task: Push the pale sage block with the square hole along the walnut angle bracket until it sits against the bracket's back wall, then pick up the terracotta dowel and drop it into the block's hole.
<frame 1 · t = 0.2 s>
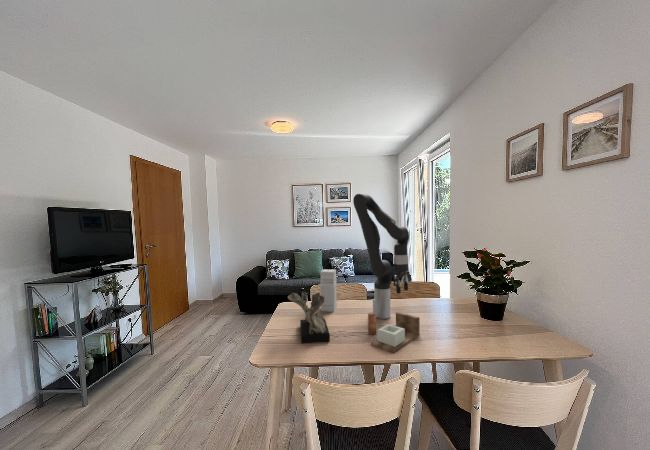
hand: (402, 291, 157), 17 cm above the table, tool pointing down, fingers open, 8 cm apart
hole block: (391, 334, 133), point 4 cm above the table, slide at 10.0 cm
coral: (308, 335, 143), on the table
box: (329, 309, 182), on the table
dowel: (372, 333, 144), on the table
walnut angle bracket: (396, 339, 136), on the table
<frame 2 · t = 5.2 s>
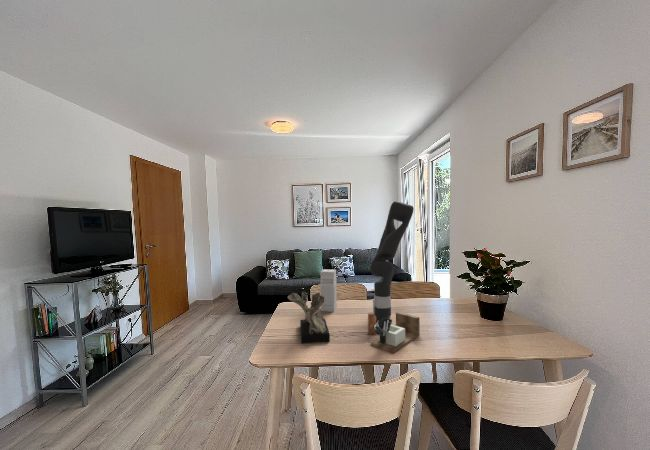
hand: (382, 342, 128), 2 cm above the table, tool pointing down, fingers closed
hole block: (391, 334, 133), point 4 cm above the table, slide at 9.6 cm, touching gripper
everything else where it was.
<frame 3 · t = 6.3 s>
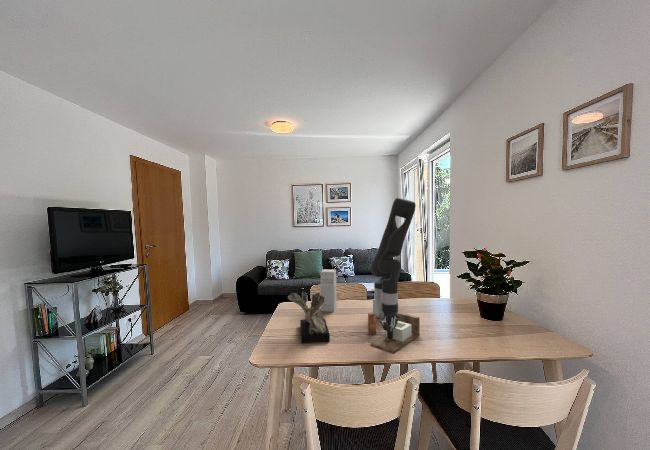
hand: (390, 338, 132), 2 cm above the table, tool pointing down, fingers closed
hole block: (398, 330, 137), point 4 cm above the table, slide at 3.2 cm, touching gripper
everything else where it was.
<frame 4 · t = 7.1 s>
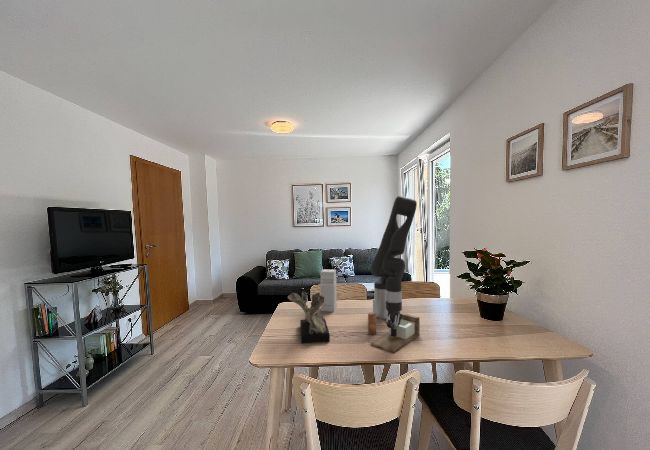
hand: (393, 335, 135), 2 cm above the table, tool pointing down, fingers closed
hole block: (401, 328, 140), point 4 cm above the table, slide at 0.0 cm, touching gripper
everything else where it was.
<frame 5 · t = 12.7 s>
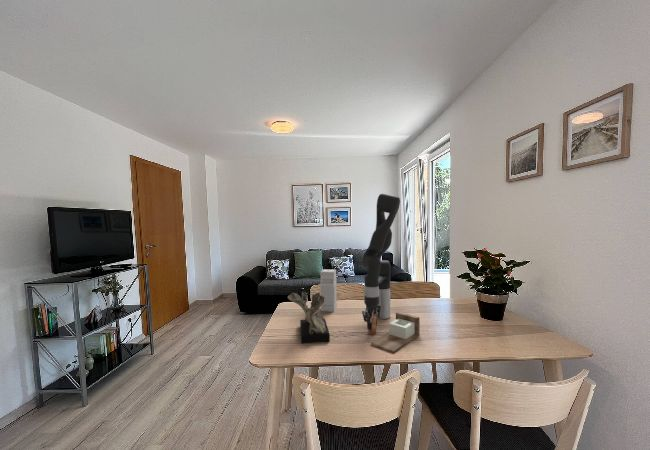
hand: (372, 327, 144), 3 cm above the table, tool pointing down, fingers closed on dowel, 4 cm apart
hole block: (401, 328, 140), point 4 cm above the table, slide at 0.0 cm
dowel: (372, 333, 144), on the table, touching gripper
everything else where it was.
when the fingers open (7 cm above the table, at t = 17.3 s): dowel drops 3 cm, resting on hole block.
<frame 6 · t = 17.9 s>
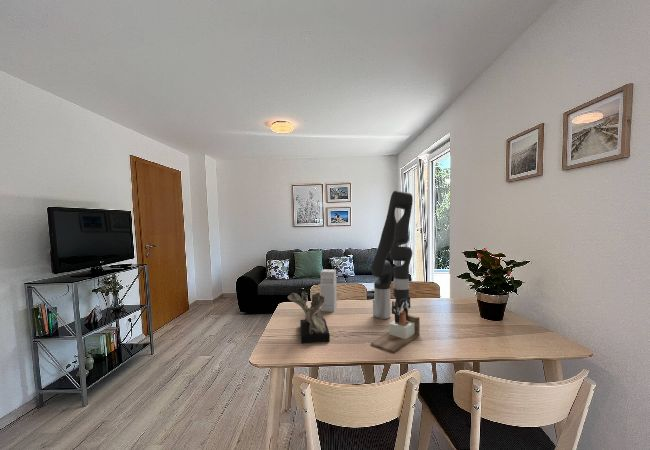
hand: (401, 319, 139), 8 cm above the table, tool pointing down, fingers open, 8 cm apart
hole block: (401, 328, 140), point 4 cm above the table, slide at 0.0 cm, touching dowel
dowel: (401, 332, 140), point 2 cm above the table, touching hole block
everything else where it was.
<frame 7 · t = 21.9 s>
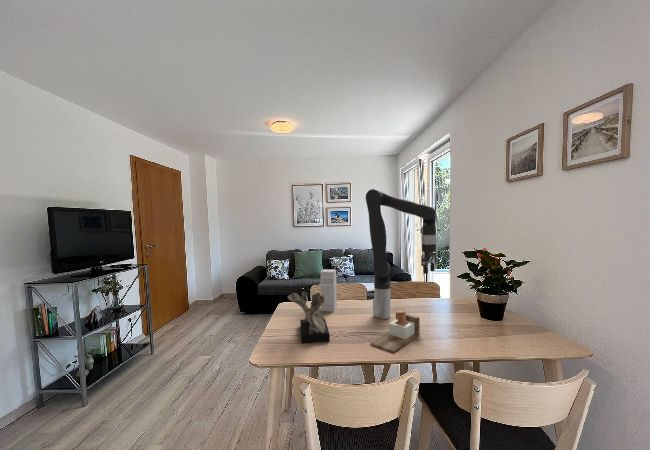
hand: (429, 272, 155), 28 cm above the table, tool pointing down, fingers open, 8 cm apart
nothing on the table moved.
at the end: hole block slide at 0.0 cm; dowel 0.2 cm off-centre on the hole block, point 1.0 cm above the hole block's base; dowel tilted 1° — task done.
